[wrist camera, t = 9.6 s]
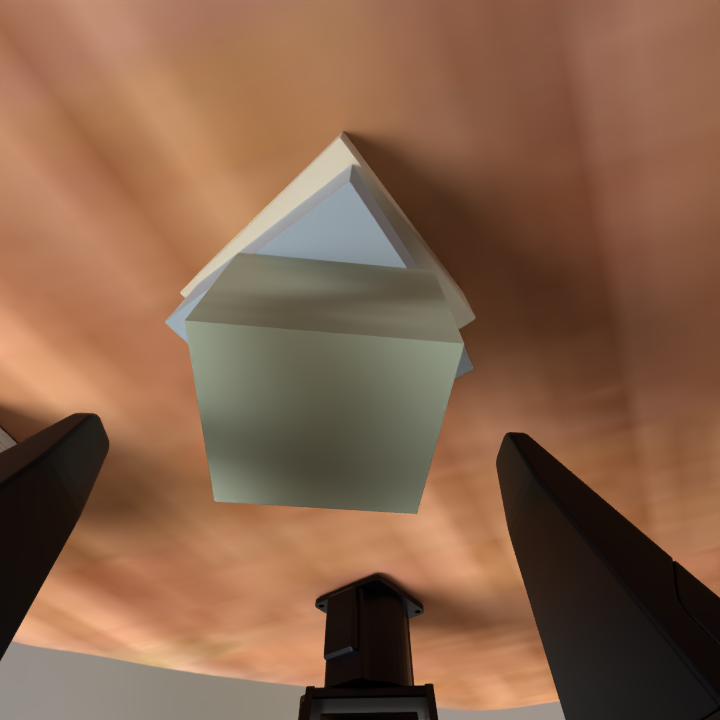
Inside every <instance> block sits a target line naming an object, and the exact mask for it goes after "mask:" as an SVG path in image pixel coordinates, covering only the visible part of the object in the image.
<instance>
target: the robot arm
mask: <svg viewBox="0 0 720 720" xmlns="http://www.w3.org/2000/svg"><path fill="white" fill-rule="evenodd" d="M108 450H109V439H108V437H107V434H106V432H105V429H104V427H103V424H102V422H101V419H100V417H99V416H98V415H96V414H93V413H75V414H73V415H71V416H69V417H67V418H65V419H63V420H61V421H59V422H57V423H55V424H54V425H52V426H50V427H48V428H46V429H44V430H42V431H40V432H38V433H37V434H35V435H33V436H31V437H29V438H27V439H25V440H23V441H21V442H20V443H18V444H16V445H14V446H12V447H10V448H8V449H6V450H4V451H3V452H1V453H0V661H1V659H2V657H3V655H4V654H5V652H6V650H7V648H8V646H9V644H10V643H11V641H12V639H13V637H14V636H15V634H16V632H17V630H18V628H19V626H20V625H21V623H22V621H23V619H24V617H25V616H26V614H27V612H28V610H29V608H30V607H31V605H32V603H33V601H34V599H35V597H36V596H37V594H38V592H39V590H40V588H41V587H42V585H43V583H44V581H45V579H46V578H47V576H48V574H49V572H50V570H51V569H52V567H53V565H54V563H55V561H56V559H57V558H58V556H59V554H60V552H61V550H62V549H63V547H64V545H65V543H66V541H67V540H68V538H69V536H70V534H71V532H72V531H73V529H74V527H75V525H76V523H77V521H78V519H79V517H80V515H81V513H82V511H83V509H84V507H85V505H86V502H87V500H88V498H89V495H90V493H91V491H92V488H93V486H94V483H95V481H96V479H97V476H98V474H99V472H100V469H101V467H102V465H103V462H104V460H105V458H106V455H107V453H108ZM496 467H497V473H498V479H499V484H500V489H501V495H502V500H503V505H504V511H505V516H506V521H507V526H508V531H509V535H510V538H511V542H512V545H513V548H514V552H515V555H516V558H517V562H518V565H519V568H520V571H521V575H522V578H523V581H524V585H525V588H526V591H527V594H528V598H529V601H530V604H531V608H532V611H533V614H534V617H535V621H536V624H537V627H538V631H539V634H540V637H541V640H542V644H543V647H544V650H545V654H546V657H547V660H548V663H549V667H550V670H551V673H552V677H553V680H554V683H555V686H556V690H557V693H558V696H559V700H560V702H561V706H562V709H563V713H564V716H565V719H566V720H720V597H718V596H717V595H716V594H715V593H714V592H712V591H711V590H710V589H709V588H708V587H706V586H705V585H704V584H703V583H701V582H700V581H699V580H698V579H697V578H695V577H694V576H693V575H692V574H691V573H690V572H688V571H687V570H686V569H685V568H684V567H683V566H681V565H680V564H679V563H678V562H676V561H673V559H672V557H671V556H669V555H668V554H667V553H666V552H665V551H664V550H662V549H661V548H660V547H659V546H658V545H657V544H655V543H654V542H653V541H652V540H651V539H649V538H648V537H647V536H646V535H645V534H644V533H642V532H641V531H640V530H639V529H638V528H637V527H635V526H634V525H633V524H632V523H631V522H630V521H628V520H627V519H626V518H625V517H624V516H622V515H621V514H620V513H619V512H618V511H617V510H615V509H614V508H613V507H612V506H611V505H610V504H608V503H607V502H606V501H605V500H604V499H603V498H601V497H600V496H599V495H598V494H597V493H595V492H594V491H593V490H592V489H591V488H590V487H588V486H587V485H586V484H585V483H584V482H583V481H581V480H580V479H579V478H578V477H577V476H576V475H574V474H573V473H572V472H571V471H570V470H568V469H567V468H566V467H565V466H564V465H563V464H561V463H560V462H559V461H558V460H557V459H556V458H554V457H553V456H552V455H551V454H550V453H549V452H547V451H546V450H545V449H544V448H543V447H541V446H540V445H539V444H538V443H537V442H536V441H534V440H533V439H532V438H531V437H530V436H529V435H527V434H525V433H517V432H509V433H506V435H505V436H504V438H503V441H502V444H501V447H500V450H499V453H498V455H497V460H496ZM315 607H316V608H318V609H320V610H321V611H323V612H325V613H327V615H326V630H325V644H324V659H325V660H326V670H325V685H324V688H315V686H307V687H306V693H305V695H303V696H301V699H300V709H299V717H298V720H438V715H437V708H436V701H435V694H434V687H433V684H425V685H424V686H414V677H413V665H412V654H411V643H410V631H409V620H408V619H409V618H412V617H414V616H417V615H420V614H422V613H423V612H424V608H423V605H422V604H421V603H419V602H418V601H416V600H415V599H414V598H412V597H411V596H409V595H408V594H406V593H405V592H404V591H402V590H401V589H399V588H398V587H396V586H395V585H393V584H392V583H391V582H389V581H388V580H386V579H385V578H383V577H382V576H380V575H372V576H370V577H367V578H365V579H362V580H360V581H358V582H355V583H353V584H351V585H348V586H346V587H343V588H341V589H339V590H336V591H334V592H331V593H329V594H327V595H324V596H322V597H320V598H317V599H316V602H315Z"/></svg>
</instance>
